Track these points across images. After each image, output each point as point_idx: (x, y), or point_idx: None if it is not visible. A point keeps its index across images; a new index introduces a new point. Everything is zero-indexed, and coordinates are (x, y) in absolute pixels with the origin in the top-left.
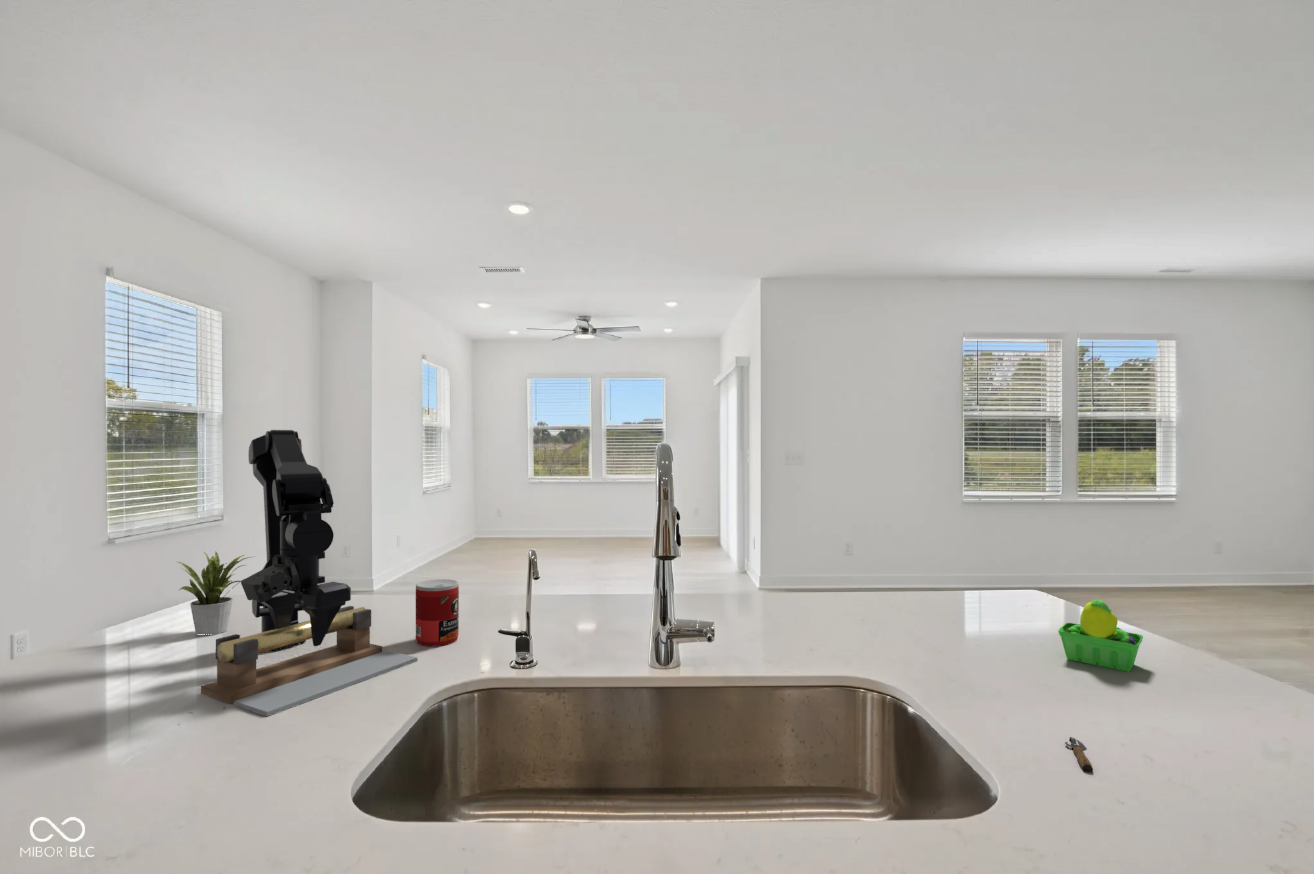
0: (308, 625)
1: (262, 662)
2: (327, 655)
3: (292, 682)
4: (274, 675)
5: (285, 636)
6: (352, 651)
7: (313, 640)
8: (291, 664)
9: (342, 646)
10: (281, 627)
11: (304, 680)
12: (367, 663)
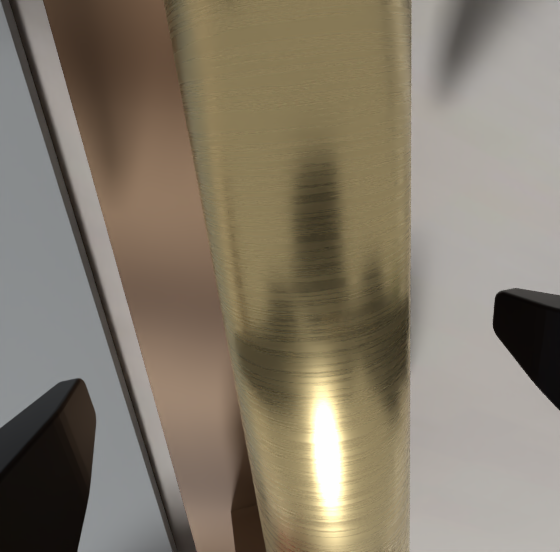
0: (283, 490)
1: (546, 211)
2: None
3: (33, 145)
4: None
5: (215, 239)
6: (249, 506)
7: (44, 403)
8: None
9: None
10: (558, 335)
11: (15, 206)
12: None
